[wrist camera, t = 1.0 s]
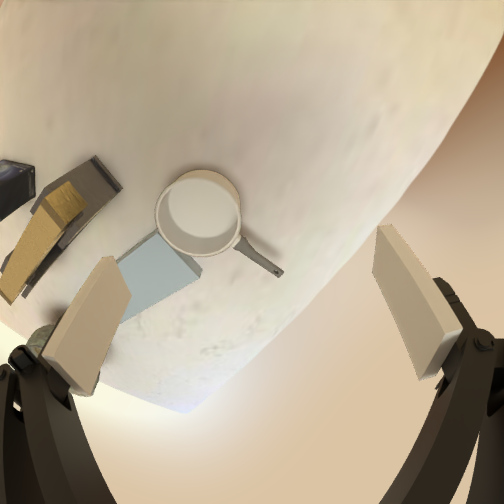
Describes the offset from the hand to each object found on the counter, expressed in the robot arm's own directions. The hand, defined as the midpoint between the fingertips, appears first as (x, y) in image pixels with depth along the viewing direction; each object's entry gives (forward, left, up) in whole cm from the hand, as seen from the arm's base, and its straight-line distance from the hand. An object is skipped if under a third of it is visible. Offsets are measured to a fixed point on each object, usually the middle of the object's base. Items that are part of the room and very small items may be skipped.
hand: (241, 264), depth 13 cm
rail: (-10, -31, -17) cm, 37 cm away
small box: (-24, -36, -27) cm, 51 cm away
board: (+7, -32, -27) cm, 42 cm away
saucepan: (+7, -9, -27) cm, 29 cm away
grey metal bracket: (-10, -31, -27) cm, 42 cm away
